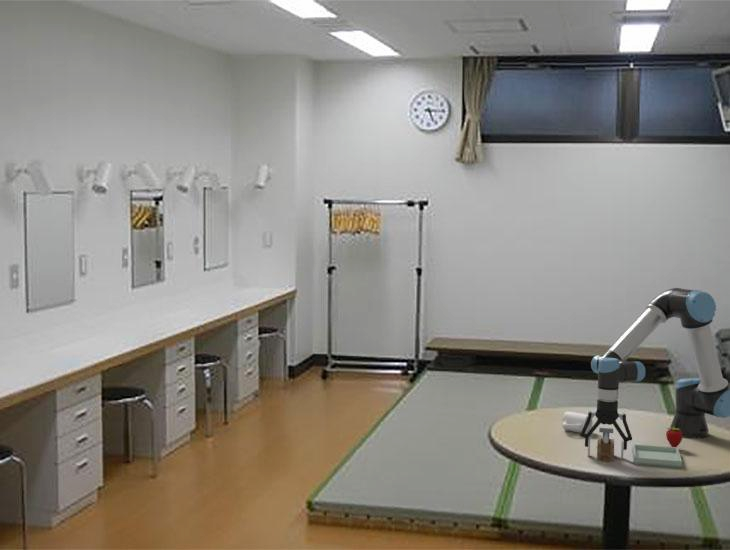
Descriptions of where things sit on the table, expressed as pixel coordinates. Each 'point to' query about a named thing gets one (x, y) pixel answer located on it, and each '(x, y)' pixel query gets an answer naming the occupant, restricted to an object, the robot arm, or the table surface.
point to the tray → (656, 456)
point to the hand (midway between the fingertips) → (605, 456)
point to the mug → (575, 422)
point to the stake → (606, 434)
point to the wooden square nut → (605, 450)
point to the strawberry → (674, 436)
